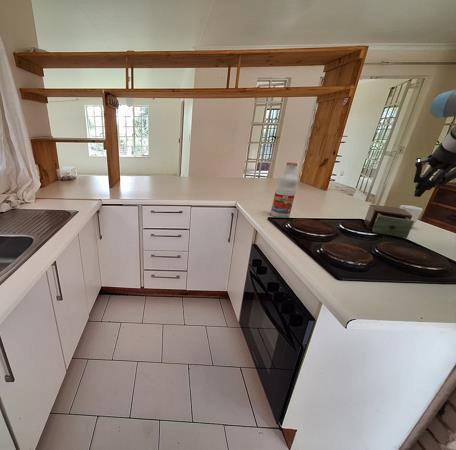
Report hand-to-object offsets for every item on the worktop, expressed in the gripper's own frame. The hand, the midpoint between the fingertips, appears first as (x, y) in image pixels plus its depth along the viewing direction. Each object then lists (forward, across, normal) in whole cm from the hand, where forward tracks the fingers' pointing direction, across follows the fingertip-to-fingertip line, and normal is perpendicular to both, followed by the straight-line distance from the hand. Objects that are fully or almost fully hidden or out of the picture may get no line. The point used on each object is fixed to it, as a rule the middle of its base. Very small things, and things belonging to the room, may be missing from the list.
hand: (417, 193), depth 86 cm
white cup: (+44, +10, +14) cm, 48 cm away
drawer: (+28, 0, -1) cm, 28 cm away
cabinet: (+35, 0, +5) cm, 35 cm away
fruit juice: (+26, -44, -5) cm, 51 cm away
